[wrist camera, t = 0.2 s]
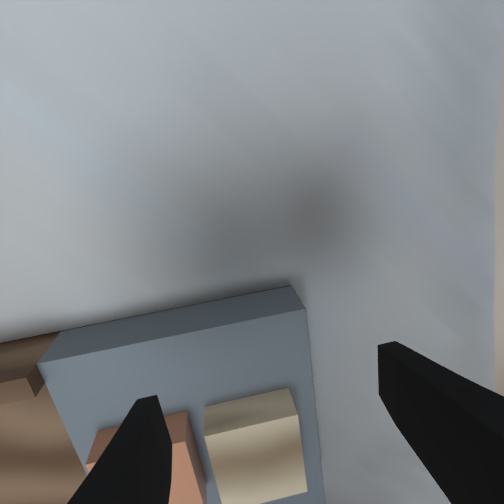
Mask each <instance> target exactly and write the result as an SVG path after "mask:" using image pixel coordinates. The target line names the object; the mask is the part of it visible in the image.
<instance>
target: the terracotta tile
mask: <svg viewBox="0 0 504 504" xmlns="http://www.w3.org/2000/svg"><path fill="white" fill-rule="evenodd" d="M164 419H165V422H166V425H167V428H168V431H169V434H170V438H171V441H172V480H171V489H170V497H169V504H207V482H206V479H205V475H204V471H203V468H202V464H201V461H200V457H199V453H198V450H197V446H196V442H195V439H194V435H193V432H192V428H191V424H190V421H189V417H188V414H187V411H184V412H179V413H175V414H171V415H166V416H164ZM119 427H120V426H118V427H113V428H109V429H105V430H100V431H97V434H96V436H95V439H94V442H93V445H92V447H91V450H90V453H89V456H88V458H87V461H86V464H85V466H86V468H87V470H88V472H90V471H91V469H92V468H93V466H94V465H95V463H96V462H97V460H98V459H99V457H100V456H101V454H102V453H103V451H104V450H105V448H106V447H107V445H108V444H109V442H110V441H111V439H112V438H113V436H114V434H115V433H116V431H117V430H118V428H119Z"/></svg>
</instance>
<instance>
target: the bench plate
mask: <svg viewBox="0 0 504 504" xmlns="http://www.w3.org/2000/svg"><path fill="white" fill-rule="evenodd" d="M37 366H38V369H39V371H40V373H41V375H42V377H43V380H44V382H45V384H46V386H47V389H48V391H49V393H50V395H51V397H52V400H53V402H54V404H55V406H56V408H57V411H58V413H59V415H60V417H61V419H62V422H63V424H64V426H65V428H66V430H67V433H68V435H69V437H70V439H71V441H72V444H73V446H74V448H75V450H76V452H77V455H78V457H79V459H80V461H81V463H82V466H83V468H84V470H85V472H86V474H87V475H88V474H89V472H88V470H87V468H86V466H85V464H86V461H87V458H88V456H89V453H90V450H91V447H92V445H93V442H94V439H95V436H96V434H97V431H100V430H105V429H109V428H113V427H118V426H120V425H121V423H122V422H123V420H124V419H125V417H126V415H127V414H128V412H129V411H130V409H131V407H132V406H133V404H134V403H135V401H136V400H137V399H140V398H145V397H149V396H153V395H157V396H158V399H159V403H160V406H161V409H162V412H163V415H164V416H166V415H171V414H175V413H179V412H184V411H187V414H188V417H189V421H190V424H191V428H192V432H193V435H194V439H195V442H196V446H197V450H198V453H199V457H200V461H201V464H202V468H203V471H204V475H205V479H206V482H207V504H222V502H221V499H220V495H219V491H218V487H217V483H216V480H215V476H214V472H213V468H212V464H211V460H210V457H209V453H208V449H207V445H206V441H205V438H204V407H206V406H210V405H215V404H219V403H223V402H228V401H232V400H237V399H241V398H245V397H250V396H254V395H259V394H263V393H267V392H272V391H276V390H281V389H285V388H289V391H290V394H291V396H292V399H293V402H294V405H295V408H296V411H297V414H298V420H299V428H300V436H301V444H302V452H303V460H304V468H305V476H306V484H307V492H304V493H300V494H296V495H292V496H288V497H284V498H281V499H277V500H273V501H269V502H265V503H261V504H325V498H324V488H323V478H322V468H321V458H320V448H319V438H318V428H317V418H316V408H315V398H314V388H313V378H312V368H311V358H310V348H309V337H308V327H307V317H306V308H305V307H304V305H303V304H302V302H301V300H300V299H299V297H298V296H297V294H296V292H295V291H294V289H293V288H292V286H287V287H282V288H277V289H272V290H267V291H261V292H256V293H251V294H246V295H241V296H236V297H231V298H226V299H221V300H216V301H211V302H206V303H201V304H196V305H191V306H186V307H181V308H176V309H171V310H166V311H161V312H156V313H151V314H146V315H140V316H135V317H130V318H125V319H120V320H115V321H110V322H105V323H100V324H95V325H90V326H85V327H80V328H75V329H70V330H65V331H61V332H60V333H59V335H58V336H57V337H56V339H55V340H54V341H53V343H52V344H51V345H50V347H49V348H48V349H47V351H46V352H45V353H44V355H43V356H42V357H41V359H40V360H39V361H38V363H37Z"/></svg>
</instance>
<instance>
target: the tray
mask: <svg viewBox="0 0 504 504" xmlns="http://www.w3.org/2000/svg"><path fill="white" fill-rule="evenodd" d="M60 332H61V331H60ZM60 332H55V333H50V334H45V335H40V336H35V337H30V338H24V339H19V340H14V341H9V342H4V343H0V504H67V503H68V502H69V500H70V499H71V497H72V496H73V495H74V493H75V492H76V490H77V489H78V488H79V486H80V485H81V483H82V482H83V481H84V479H85V478H86V477H87V474H86V472H85V470H84V468H83V466H82V463H81V461H80V459H79V457H78V455H77V452H76V450H75V448H74V446H73V444H72V441H71V439H70V437H69V435H68V433H67V430H66V428H65V426H64V424H63V422H62V419H61V417H60V415H59V413H58V411H57V408H56V406H55V404H54V402H53V400H52V397H51V395H50V393H49V391H48V389H47V386H46V384H45V382H44V380H43V377H42V375H41V373H40V371H39V369H38V366H37V363H38V361H39V360H40V359H41V357H42V356H43V355H44V353H45V352H46V351H47V349H48V348H49V347H50V345H51V344H52V343H53V341H54V340H55V339H56V337H57V336H58V335H59V333H60Z"/></svg>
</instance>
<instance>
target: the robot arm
mask: <svg viewBox="0 0 504 504" xmlns="http://www.w3.org/2000/svg"><path fill="white" fill-rule="evenodd" d="M378 380H379V396H380V397H381V399H382V401H383V403H384V405H385V407H386V409H387V410H388V412H389V414H390V416H391V418H392V419H393V421H394V423H395V425H396V426H397V427H398V429H399V430H400V432H401V433H402V435H403V436H404V437H405V439H406V440H407V442H408V443H409V445H410V446H411V447H412V449H413V450H414V452H415V453H416V454H417V456H418V457H419V459H420V460H421V461H422V463H423V464H424V466H425V467H426V468H427V470H428V471H429V473H430V474H431V475H432V477H433V478H434V480H435V481H436V482H437V484H438V485H439V487H440V488H441V489H442V491H443V492H444V494H445V495H446V496H447V498H448V499H449V501H450V502H451V504H504V397H503V396H501V395H499V394H497V393H495V392H493V391H491V390H489V389H486V388H484V387H482V386H480V385H478V384H476V383H474V382H472V381H470V380H468V379H466V378H464V377H462V376H460V375H458V374H456V373H454V372H453V371H451V370H449V369H447V368H445V367H443V366H441V365H439V364H437V363H436V362H434V361H432V360H430V359H428V358H426V357H425V356H423V355H421V354H419V353H417V352H415V351H413V350H412V349H410V348H408V347H406V346H404V345H402V344H400V343H398V342H396V341H394V342H389V343H385V344H380V345H378ZM171 480H172V441H171V438H170V434H169V431H168V428H167V425H166V422H165V419H164V415H163V412H162V409H161V406H160V403H159V399H158V396H157V395H153V396H149V397H145V398H140V399H137V400H136V401H135V403H134V404H133V406H132V407H131V409H130V411H129V412H128V414H127V415H126V417H125V419H124V420H123V422H122V423H121V425H120V427H119V428H118V430H117V431H116V433H115V434H114V436H113V438H112V439H111V441H110V442H109V444H108V445H107V447H106V448H105V450H104V451H103V453H102V454H101V456H100V457H99V459H98V460H97V462H96V463H95V465H94V466H93V468H92V469H91V471H90V472H89V474H88V475H87V477H86V478H85V479H84V481H83V482H82V483H81V485H80V486H79V488H78V489H77V490H76V492H75V493H74V495H73V496H72V497H71V499H70V500H69V502H68V503H67V504H169V497H170V489H171Z"/></svg>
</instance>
